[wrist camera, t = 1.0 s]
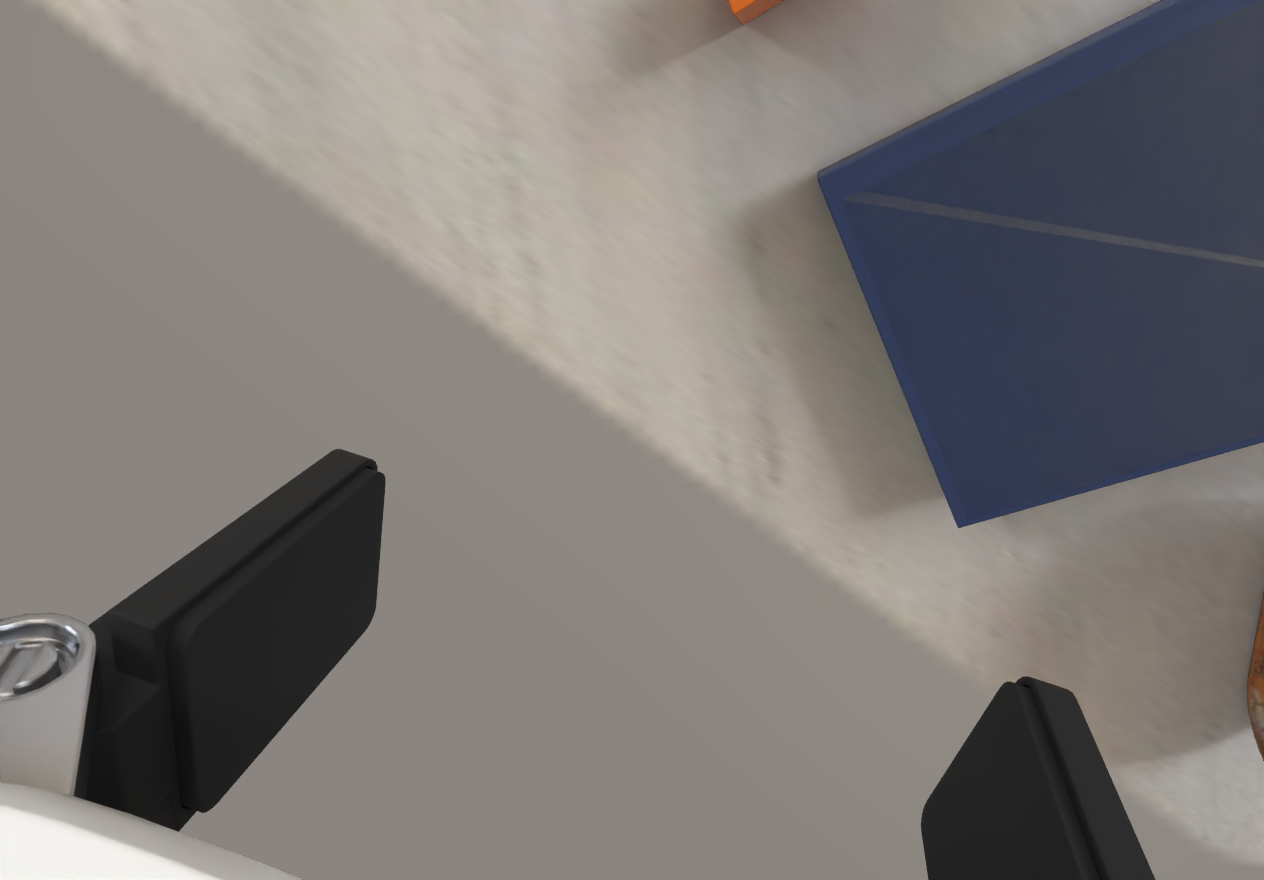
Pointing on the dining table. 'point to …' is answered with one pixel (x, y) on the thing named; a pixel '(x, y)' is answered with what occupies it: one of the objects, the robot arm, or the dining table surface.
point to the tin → (1257, 685)
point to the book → (1075, 260)
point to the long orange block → (751, 8)
